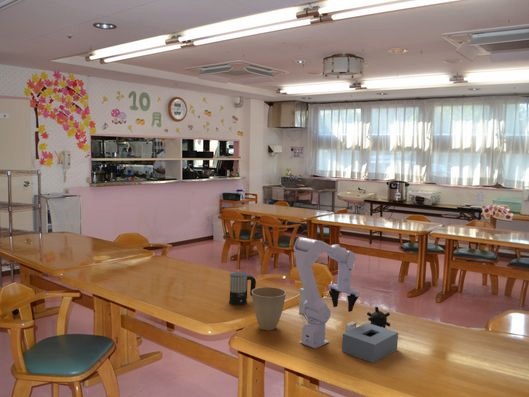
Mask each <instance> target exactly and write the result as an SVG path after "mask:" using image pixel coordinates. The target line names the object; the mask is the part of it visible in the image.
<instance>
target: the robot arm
mask: <svg viewBox="0 0 529 397" xmlns="http://www.w3.org/2000/svg"><path fill="white" fill-rule="evenodd" d="M292 248H293V251H294V255H295V265H296V269H297V274H298V276H299V279H300V282H301V283H300V284H301V285H302V288H303V289H304V293H305V296H306V299H307V300H306V301H305V302H304V304H303V305H304V314H303V315H304V316H305V320H307V321H306V323H305V324H303V326H302V328H301V340H300V341H299V344H303V345H305V346H308V347H310V348H312V349H317V348H319V347H322V346H324V345H326V344H328V343H330V340H327V339H326V338H325V337H326V323H328V321H329V320H330V319H331V309H330V308H329V307H328V304H327V302H325V301H324V299H322V297H321V295H320V292H319V289H318V285H317V281H316V278H315V274H314V271H313V268H312V265H314V264H316V262H317V260H318V259H319V258H320V256H321V254H323V253H326V254H327V256H328V258H330V259H331V260H335V261H336V262H337V263H338V265H337V269H338V270H337V284H333V283H330V284H328V290H329V291H328V294H329V295H330V299H331V301H332V305H333V306H332V307H333V308H336V307H338V305H339V295H340V292H341V293H344V294H347V296H346V297H347V304H348V306H347V310H348V313H349V312H350V313H351V312H353V310H354V306H355V303H356V302H357V300H358V299H359V297H360V294H361V292H360V290H356V289H354V288H352V275H353V274H352V272H353V268H354V263H355V261H356V255H355V253H354V252H353V251H352V250H347V248H346V247H341V245H340V244H337V243H335V244H331V245H330V244H328V243H326V242H324V241H323V240H318V239H313V238H307V237H303V236H299V237H298V238H296V241H295V242H294V245H293V247H292Z"/></svg>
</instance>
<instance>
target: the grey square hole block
mask: <svg viewBox="0 0 529 397" xmlns="http://www.w3.org/2000/svg"><path fill="white" fill-rule="evenodd" d="M370 323H371V322H370ZM370 323H369V322H365V323H363V324H361V325H359V326H356V328H354V329H352V330H350V331H347V332H346V331H345V332H343V333H342V340H341V343H342V344H341V352H343V353H345V354H347V355H351V356H353V357H356V358H359V359H362V360H364V361H366V362H370V363H372V364H374V363H376V362H379V361H380V360H381V359H383V358H386V357H387V356H388V355H390V354H392V353H394V352H396V351H397V350H398V344H399V343H398V340H399V332H397V331H395V330H391V329H388V328H386V327H385V328H383V327H379V326H376V325H373V324H370Z"/></svg>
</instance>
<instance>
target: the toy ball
mask: <svg viewBox="0 0 529 397" xmlns="http://www.w3.org/2000/svg"><path fill="white" fill-rule="evenodd" d="M366 315H367V316H368V318H367V320H368V321H369V322H370V324H373V325H376V326H379V327H382V328H386V326H387V327H390V326H391V323H390V322H389V321H388V317H389V316H390V315H391V313H390V312H385V313H384V312H383V311H381V310H379V307H378V306H375V307H374V311H373V312H372V313H371V312H366Z"/></svg>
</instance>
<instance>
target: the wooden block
mask: <svg viewBox="0 0 529 397" xmlns="http://www.w3.org/2000/svg"><path fill="white" fill-rule="evenodd" d="M356 327H357V322H356V321H353V320H352V321H351V322H348V323H346V324H345V332H347V331H350V330H352V329H354V328H356Z"/></svg>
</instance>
